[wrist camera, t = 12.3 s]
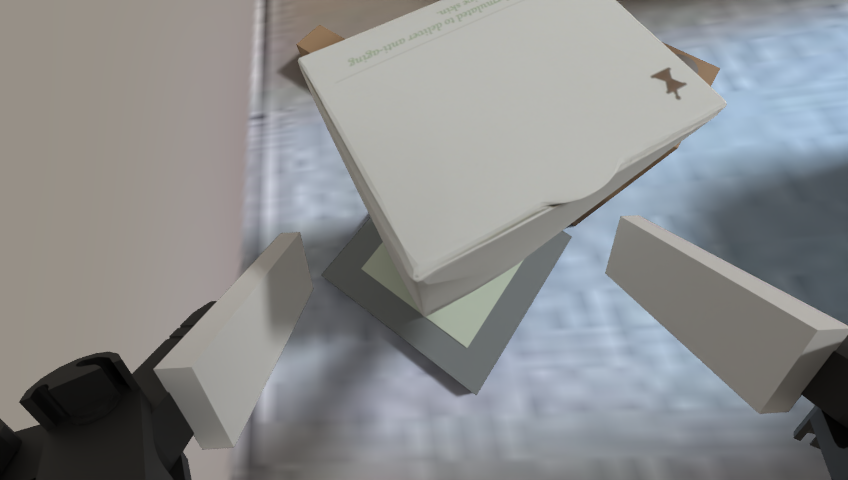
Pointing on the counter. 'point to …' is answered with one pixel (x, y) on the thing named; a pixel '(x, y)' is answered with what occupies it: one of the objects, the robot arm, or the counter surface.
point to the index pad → (454, 324)
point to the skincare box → (497, 127)
